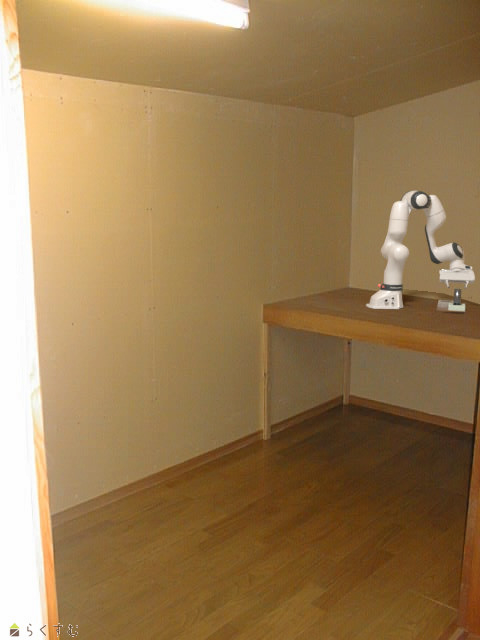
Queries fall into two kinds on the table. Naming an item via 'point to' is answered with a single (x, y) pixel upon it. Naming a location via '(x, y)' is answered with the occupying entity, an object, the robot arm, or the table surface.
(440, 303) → the socket
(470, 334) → the table surface
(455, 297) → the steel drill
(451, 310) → the tool board
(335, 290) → the table surface
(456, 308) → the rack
